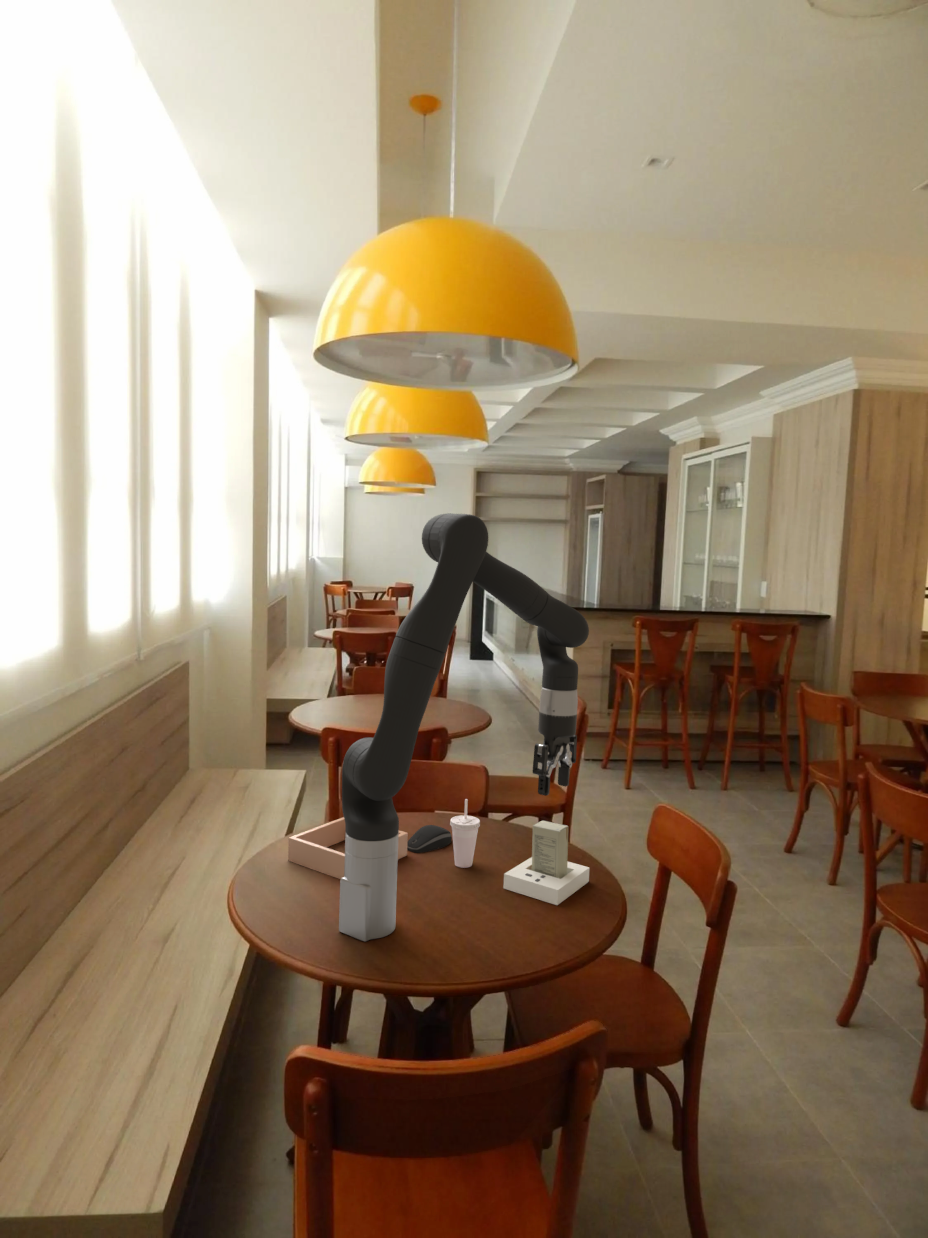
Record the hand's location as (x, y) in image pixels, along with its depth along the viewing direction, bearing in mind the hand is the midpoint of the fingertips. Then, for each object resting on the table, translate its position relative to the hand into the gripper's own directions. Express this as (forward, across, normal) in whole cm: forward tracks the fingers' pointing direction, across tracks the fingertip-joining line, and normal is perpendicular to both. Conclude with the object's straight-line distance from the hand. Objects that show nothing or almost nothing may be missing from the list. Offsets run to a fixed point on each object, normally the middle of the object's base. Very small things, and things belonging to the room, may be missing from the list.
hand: (553, 790), depth 159 cm
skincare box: (+20, 0, 0) cm, 20 cm away
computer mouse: (+20, +2, +32) cm, 37 cm away
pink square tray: (+20, -16, +40) cm, 47 cm away
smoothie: (+20, -3, +19) cm, 27 cm away
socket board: (+19, -1, 0) cm, 19 cm away
